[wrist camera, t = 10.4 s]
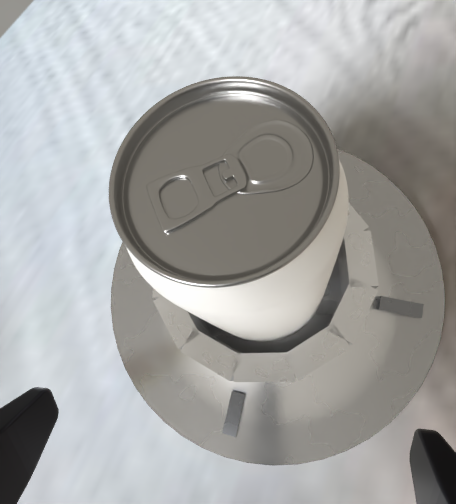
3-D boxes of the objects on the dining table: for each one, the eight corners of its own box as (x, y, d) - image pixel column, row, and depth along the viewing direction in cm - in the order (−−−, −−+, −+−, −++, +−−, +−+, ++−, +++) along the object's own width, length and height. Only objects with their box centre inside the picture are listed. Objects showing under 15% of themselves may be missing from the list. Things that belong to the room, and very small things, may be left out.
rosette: (208, 536, 17) (185, 579, 14) (74, 243, 24) (35, 221, 20) (522, 335, 18) (579, 326, 14) (306, 97, 24) (308, 49, 20)
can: (346, 312, 19) (420, 227, 7) (231, 363, 19) (135, 356, 8) (290, 209, 21) (283, 23, 10) (188, 256, 21) (65, 129, 10)
